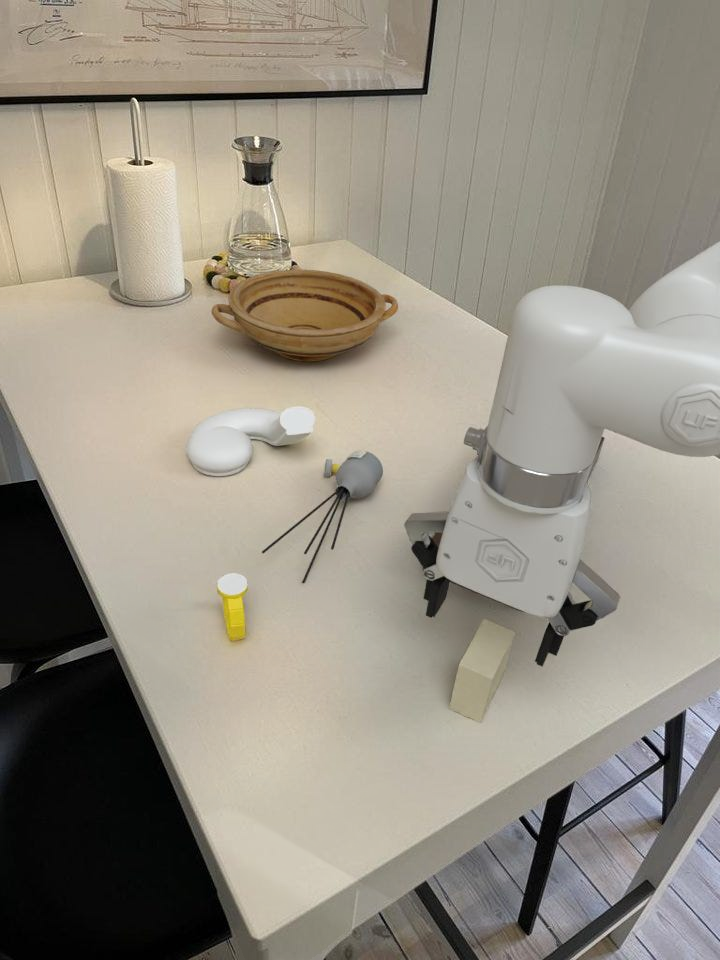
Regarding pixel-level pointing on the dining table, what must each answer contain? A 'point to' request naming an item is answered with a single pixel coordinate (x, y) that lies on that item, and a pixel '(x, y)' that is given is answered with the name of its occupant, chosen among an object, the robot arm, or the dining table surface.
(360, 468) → the reed diffuser
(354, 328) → the ceramic bowl
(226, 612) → the watch
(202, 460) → the sculpture
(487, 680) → the cream rectangular block
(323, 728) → the dining table surface
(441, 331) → the dining table surface
